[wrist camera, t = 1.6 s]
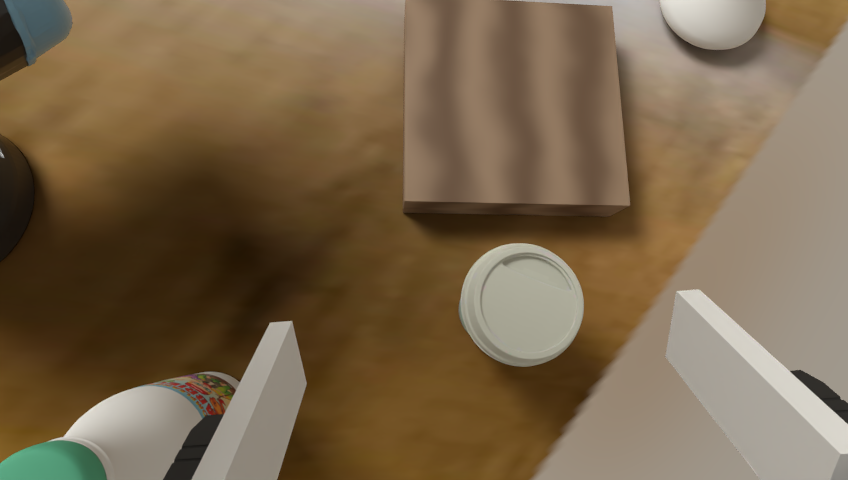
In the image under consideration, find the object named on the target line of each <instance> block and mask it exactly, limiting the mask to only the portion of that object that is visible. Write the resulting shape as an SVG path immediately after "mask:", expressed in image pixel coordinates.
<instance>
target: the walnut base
mask: <svg viewBox="0 0 848 480" xmlns="http://www.w3.org/2000/svg"><path fill="white" fill-rule="evenodd" d="M629 206H630V197H629V186H628V175H627V164H626V153H625V142H624V131H623V120H622V109H621V98H620V87H619V76H618V65H617V55H616V44H615V33H614V22H613V11H612V6H597V5H578V4H560V3H542V2H524V1H506V0H406V2H405V19H404V127H403V213H439V214H493V215H547V216H601V217H609V216H611V215H613V214H615V213H617V212H619V211H621V210H623V209H625V208H627V207H629Z"/></svg>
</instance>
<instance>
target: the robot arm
mask: <svg viewBox="0 0 848 480" xmlns="http://www.w3.org/2000/svg"><path fill="white" fill-rule="evenodd" d="M71 28H72V16H71V13H70V10H69V8H68V7H67V5H66V3H65V2H64V0H0V80H2V79H4V78H6V77H8V76H10V75H11V74H13V73H15V72H17V71H19V70H20V69H22V68H24V67H26V66H30V65H32V64H34V63H35V62H36V58H38V57H39V56H41V55H42V54H43V53H45V52H46V51H48V50H49V49H51V48H52V47H54V46H55V45H57V44H58V43H60V42H61V41H63V40H64V39H65V38H66V37H67V36H68V34H69V32H70V30H71ZM33 203H34V183H33V178H32V174H31V171H30V168H29V166H28V163H27V161H26V160H25V158H24V156H23V155H22V153H21V152H20V151H19V150H18V148H17V147H16V146H15V145H14V144H13V143H12V142H10V141H9V140H8V139H7V138H5V137H4V136H2V135H1V134H0V261H1V260H2V259H3V258H4V257H5V256H6V255H7V254H8V253H9V252H10V251H11V250H12V249H13V248H14V246H15V245H16V244H17V242H18V241H19V239H20V238H21V236H22V234H23V233H24V231H25V229H26V227H27V224H28V222H29V219H30V216H31V213H32V209H33ZM666 358H667V359H668V361H669V362H670V363H671V365H672V366H673V367H674V368H675V370H676V371H677V372H678V374H679V375H680V376H681V377H682V379H683V380H684V381H685V383H686V384H687V385H688V387H689V388H690V389H691V390H692V392H693V393H694V394H695V396H696V397H697V398H698V400H699V401H700V402H701V404H702V405H703V406H704V407H705V409H706V410H707V411H708V412H709V414H710V415H711V416H712V418H713V419H714V420H715V422H716V423H717V424H718V425H719V427H720V428H721V429H722V431H723V432H724V433H725V435H726V436H727V437H728V438H729V440H730V441H731V442H732V444H733V445H734V446H735V448H736V449H737V450H738V452H739V453H740V454H741V455H742V457H743V458H744V459H745V461H746V462H747V463H748V464H749V466H750V467H751V468H752V470H753V471H754V472H755V474H756V475H757V476H758V477H759V479H760V480H848V403H847V402H845V401H844V400H841V399H840V396H838V395H837V394H836V393H835V392H834V391H833V390H831V389H830V388H829V387H828V386H827V385H826V384H824V383H823V382H821V381H820V380H818V379H816V378H814V377H812V376H811V375H809V374H807V373H805V372H803V371H801V370H796V371H789V370H787V369H786V368H785V367H784V366H783V365H782V364H781V363H780V362H779V361H777V360H776V359H775V358H774V357H773V356H772V355H771V354H770V353H769V352H768V351H766V350H765V349H764V348H763V347H762V346H761V345H760V344H759V343H758V342H757V341H755V340H754V339H753V338H752V337H751V336H750V335H749V334H748V333H747V332H746V331H744V330H743V329H742V328H741V327H740V326H739V325H738V324H737V323H736V322H735V321H733V320H732V319H731V318H730V317H729V316H728V315H727V314H726V313H725V312H723V311H722V310H721V309H720V308H719V307H718V306H717V305H716V304H715V303H714V302H712V301H711V300H710V299H709V298H708V297H707V296H706V295H705V294H704V293H702V292H701V291H700V290H685V291H676V296H675V302H674V308H673V314H672V320H671V327H670V332H669V339H668V345H667V350H666ZM306 385H307V382H306V378H305V374H304V370H303V365H302V361H301V357H300V353H299V348H298V344H297V340H296V336H295V331H294V327H293V323H292V321H284V322H271V323H270V324H269V326H268V328H267V330H266V332H265V334H264V336H263V338H262V340H261V342H260V344H259V346H258V348H257V350H256V352H255V354H254V356H253V358H252V360H251V362H250V364H249V366H248V368H247V370H246V372H245V374H244V376H243V378H242V380H241V382H240V384H239V386H238V388H237V390H236V392H235V394H234V396H233V398H232V400H231V402H230V404H229V406H228V408H227V410H226V412H225V414H217V415H206V416H205V417H204V418H203V419H202V420H201V421H200V422H199V423H198V424H197V425H196V426H194V427H193V428H192V429H191V431H190V432H189V434H188V436H187V438H186V440H185V441H184V443H183V445H182V449H180V450H179V452H178V454H177V455H176V457H175V459H174V463H172V464H171V466H170V468H169V470H168V471H167V473H166V475H165V477H164V479H163V480H277V478H278V475H279V472H280V469H281V466H282V462H283V459H284V456H285V453H286V449H287V446H288V443H289V440H290V436H291V433H292V430H293V427H294V423H295V420H296V417H297V414H298V410H299V407H300V404H301V401H302V397H303V394H304V391H305V388H306Z"/></svg>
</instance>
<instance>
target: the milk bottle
mask: <svg viewBox="0 0 848 480" xmlns="http://www.w3.org/2000/svg"><path fill="white" fill-rule="evenodd" d="M239 384H240V382H239V381H238V380H236V379H235V378H233V377H231V376H229V375H227V374H224V373H220V372H201V373H196V374H191V375H186V376H181V377H177V378H172V379H168V380H163V381H159V382H155V383H151V384H147V385H143V386H139V387H136V388H133V389H129V390H126V391H123V392H120V393H118V394H116V395H114V396H111V397H109V398H107V399H105V400H103V401H102V402H100V403H99V404H97V405H96V406H94V407H93V408H91V409H90V410H89V411H87V412H86V413H85V414H84V415H83V416H82V417H80V418H79V419H78V420H77V421H76V422H75V423H74V424H73V425H72V427H71V428H70V429H69V430H68V432H67V433H66V434H65V436H64V437H61V438H56V439H53V440H50V441H48V442H44V443H41V444H37V445H34V446H31V447H28V448H26V449H23V450H21V451H19V452H17V453H15V454H13V455H11V456H10V457H8V458H7V459H5V460H4V461H3V462H1V463H0V480H163V479H164V477H165V475H166V473H167V471H168V470H169V468H170V466H171V464H172V463H174V459H175V457H176V455H177V454H178V452H179V450H180V449H182V445H183V443H184V441H185V440H186V438H187V436H188V434H189V432H190V431H191V429H192V428H193V427H194V426H196V425H197V424H198V423H199V422H200V421H201V420H202V419H203V418H204V417H205V416H206V415H217V414H225V412H226V410H227V408H228V406H229V404H230V402H231V400H232V398H233V396H234V394H235V392H236V390H237V388H238V386H239Z"/></svg>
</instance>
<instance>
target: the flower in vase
mask: <svg viewBox="0 0 848 480" xmlns="http://www.w3.org/2000/svg"><path fill="white" fill-rule="evenodd" d="M659 3H660V8H661V11H662V14H663V16H664V18H665V20H666V22H667V23H668V25H669V26H670V27H671V29H672V30H673V31H674V32H675V33H676V34H677V35H678V36H679V37H681V38H682V39H683V40H685V41H687V42H688V43H690V44H692V45H694V46H697V47H700V48H704V49H709V50H726V49H732V48H735V47H738V46H740V45H743V44H744V43H746V42H747V41H749V40H750V39H751V38H752V37H753V36H754V35H755V33H756V32H757V30H758V28H759V27H760V25H761V23H762V21H763V18H764V15H765V10H766V0H659Z"/></svg>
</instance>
